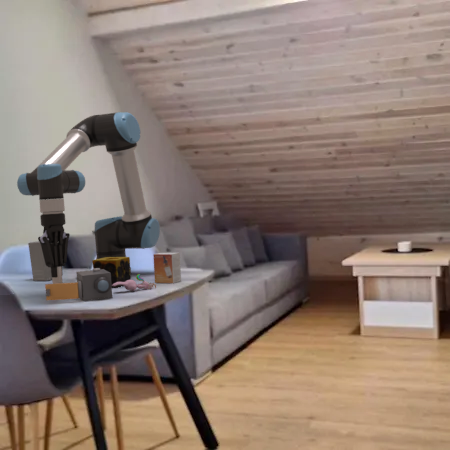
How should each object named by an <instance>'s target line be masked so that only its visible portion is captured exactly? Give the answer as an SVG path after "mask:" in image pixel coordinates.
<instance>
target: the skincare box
mask: <svg viewBox="0 0 450 450" xmlns="http://www.w3.org/2000/svg"><path fill="white" fill-rule="evenodd" d="M27 245H28V250H29V251H28V252H29V260H30V266H31V273H32V280H33V281H35V282H36V281H43V282H44V281H51V280H52V276H51V267H48V266H46V264H45V260H44V256H43V252H42V247H41V244H40V242H39V240H37V241H30V242H28V243H27Z"/></svg>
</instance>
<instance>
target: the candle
mask: <svg viewBox="0 0 450 450" xmlns="http://www.w3.org/2000/svg"><path fill="white" fill-rule="evenodd" d="M91 262H92V270H93V269H94V268H100V269H104V270H106V271H108V272H110V273H111V285H113V284H114V283H116V282H125V281H127V280H132V279H131V278H132V275H131V274H130V267H131V258H130V256H126V257H105V258H100V259H92V261H91ZM121 286H122V287H124V286H123V285H116V286H112V289H119V288H121ZM118 287H119V288H118Z"/></svg>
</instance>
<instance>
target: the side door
mask: <svg viewBox="0 0 450 450" xmlns="http://www.w3.org/2000/svg"><path fill="white" fill-rule="evenodd" d="M44 286H45V290H44V291H45V299H46V301H61V300H64V301H65V300H76V299H79V300H82V286H81V281H78V282H77V281H76V282H63V283H58V284H53V283H46V284H45V285H44Z"/></svg>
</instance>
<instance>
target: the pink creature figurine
mask: <svg viewBox="0 0 450 450" xmlns="http://www.w3.org/2000/svg"><path fill="white" fill-rule="evenodd" d="M140 276H141V274H140V273H137V275H136V276H135V277H136V280H137V281H140V282H141V283H138V284H137V282H136V281H135V280H134V279H131V280H127V281H125V282H116V283H114V284H113V285H112V286H116V285H123V286H122V287H124V289H126V291H130V292H134V291H136V290H137V288H138V289H140V290H147V289H150V290H151V289H153V288H155V289H156V288H157V283H155V282H149V281H146V280H145V279H144V278H143V277H140Z"/></svg>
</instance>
